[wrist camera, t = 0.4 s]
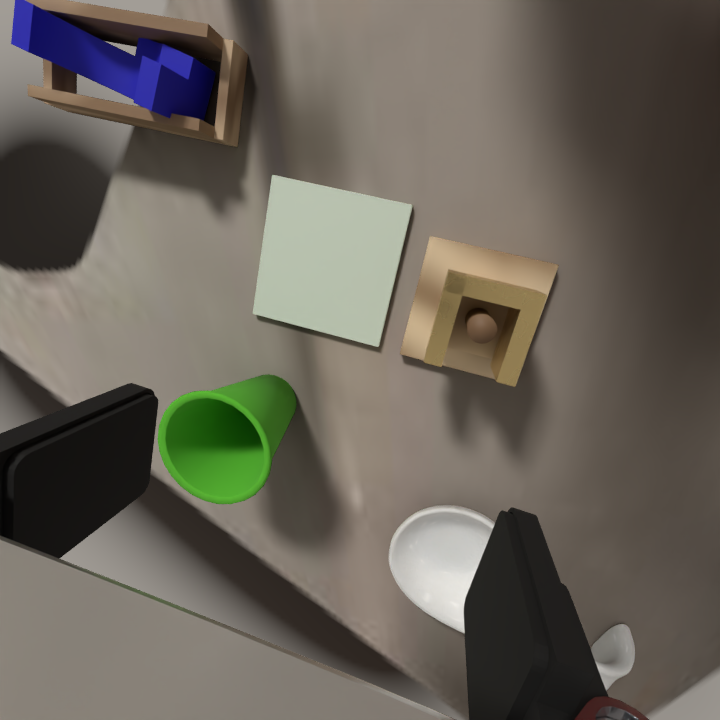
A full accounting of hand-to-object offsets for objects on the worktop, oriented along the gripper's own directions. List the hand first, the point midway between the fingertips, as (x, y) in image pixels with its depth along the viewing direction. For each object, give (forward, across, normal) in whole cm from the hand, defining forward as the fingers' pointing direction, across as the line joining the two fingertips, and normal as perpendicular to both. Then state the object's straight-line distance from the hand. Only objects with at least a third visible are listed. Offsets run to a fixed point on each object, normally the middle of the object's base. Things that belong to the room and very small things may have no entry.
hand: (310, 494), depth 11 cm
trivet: (+26, +8, -4) cm, 28 cm away
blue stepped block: (+26, +26, -15) cm, 40 cm away
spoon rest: (+28, -16, +21) cm, 38 cm away
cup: (+27, +11, +10) cm, 31 cm away
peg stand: (+26, -5, -3) cm, 27 cm away
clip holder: (+26, +26, -14) cm, 40 cm away
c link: (+22, -5, -3) cm, 22 cm away
